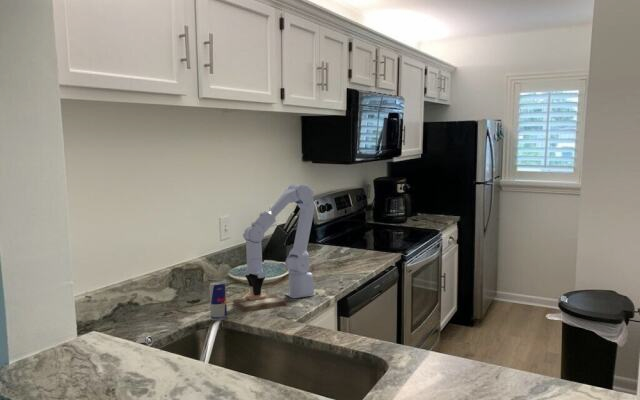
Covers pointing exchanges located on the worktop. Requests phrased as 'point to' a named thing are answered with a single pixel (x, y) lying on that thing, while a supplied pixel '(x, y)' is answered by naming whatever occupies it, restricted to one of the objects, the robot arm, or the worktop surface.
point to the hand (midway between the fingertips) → (255, 294)
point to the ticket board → (259, 303)
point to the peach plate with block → (254, 297)
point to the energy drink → (218, 301)
